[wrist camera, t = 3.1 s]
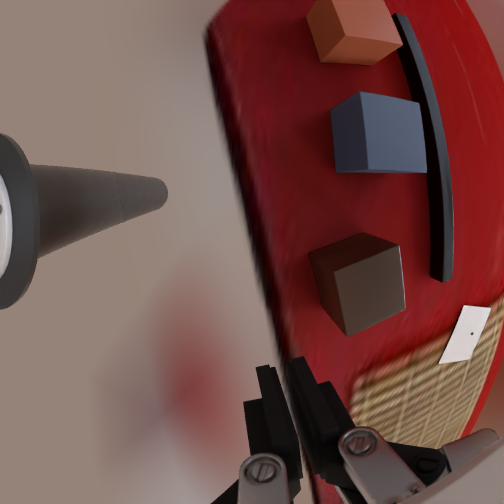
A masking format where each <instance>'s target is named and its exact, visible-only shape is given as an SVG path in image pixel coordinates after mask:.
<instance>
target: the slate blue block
mask: <svg viewBox="0 0 504 504" xmlns="http://www.w3.org/2000/svg"><path fill="white" fill-rule="evenodd" d="M330 115H331V124H332V134H333V144H334V156H335V170H336V173H427V166H426V153H425V142H424V133H423V125H422V118H421V112H420V106H419V103H417V102H413V101H408V100H404V99H399V98H395V97H390V96H385V95H379V94H374V93H368V92H361V91H359V92H358V93H356V94H354V95H353V96H351V97H349V98H348V99H346V100H345V101H343V102H342V103H340V104H338V105H337V106H335V107H334V108H332V109H331V110H330Z"/></svg>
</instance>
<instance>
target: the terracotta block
mask: <svg viewBox="0 0 504 504" xmlns="http://www.w3.org/2000/svg"><path fill="white" fill-rule="evenodd" d="M306 19H307V22H308V24H309V27H310V30H311V33H312V36H313V40H314V43H315V46H316V49H317V52H318V56H319V59H320V62H327V63H348V64H360V65H370V66H372V65H374V64H375V63H376V62H378V61H379V60H381V59H382V58H384V57H385V56H387V55H388V54H390V53H391V52H393V51H394V50H396V49H397V48H399V47H401V46H402V45H403V43H402V41H401V38H400V36H399V33H398V31H397V29H396V26H395V24H394V22H393V19H392V17H391V15H390V13H389V11H388V9H387V7H386V5H385V3H384V1H383V0H316V1H315V3H314V4H313V6H312V8H311V9H310V11H309V13H308V15H307V16H306Z"/></svg>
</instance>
